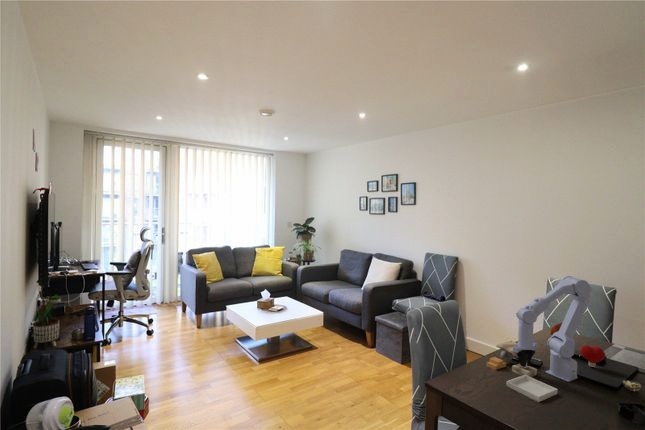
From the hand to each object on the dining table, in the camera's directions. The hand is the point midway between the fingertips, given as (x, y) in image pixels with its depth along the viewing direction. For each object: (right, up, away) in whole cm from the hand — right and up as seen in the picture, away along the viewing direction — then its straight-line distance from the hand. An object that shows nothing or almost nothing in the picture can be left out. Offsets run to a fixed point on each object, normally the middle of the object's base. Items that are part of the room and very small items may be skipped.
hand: (524, 365), depth 153 cm
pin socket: (0, -3, 0) cm, 3 cm away
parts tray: (-6, -4, -14) cm, 16 cm away
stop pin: (0, -3, 0) cm, 3 cm away
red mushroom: (+36, -4, +7) cm, 37 cm away
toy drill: (+34, -4, +27) cm, 44 cm away
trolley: (0, -3, +12) cm, 12 cm away
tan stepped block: (-10, -3, +6) cm, 12 cm away
